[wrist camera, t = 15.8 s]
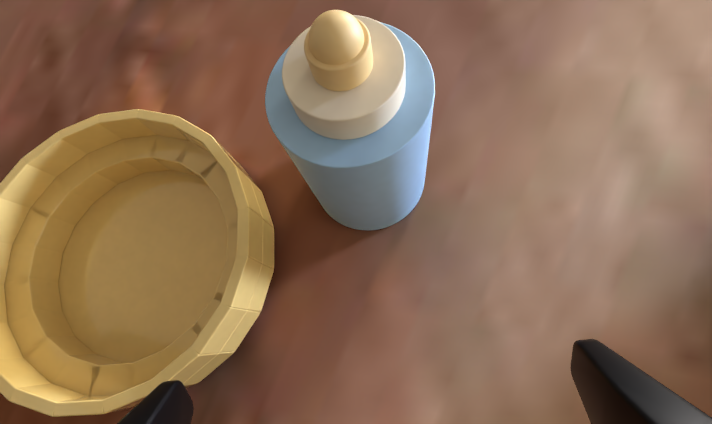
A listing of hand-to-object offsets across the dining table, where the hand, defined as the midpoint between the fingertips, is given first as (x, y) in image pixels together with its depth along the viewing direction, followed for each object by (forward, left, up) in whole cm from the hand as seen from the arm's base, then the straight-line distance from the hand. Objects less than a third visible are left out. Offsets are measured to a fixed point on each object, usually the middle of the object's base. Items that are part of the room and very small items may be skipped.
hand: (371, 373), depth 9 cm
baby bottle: (+9, +4, -12) cm, 16 cm away
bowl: (+1, +15, -12) cm, 19 cm away
